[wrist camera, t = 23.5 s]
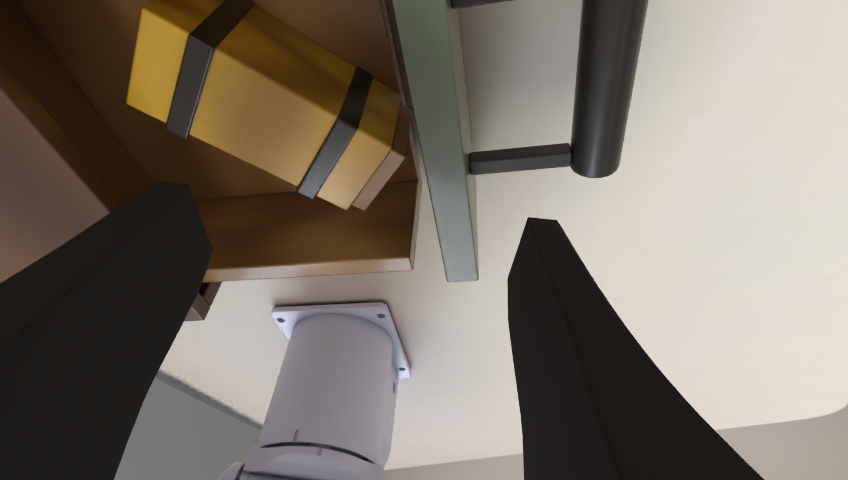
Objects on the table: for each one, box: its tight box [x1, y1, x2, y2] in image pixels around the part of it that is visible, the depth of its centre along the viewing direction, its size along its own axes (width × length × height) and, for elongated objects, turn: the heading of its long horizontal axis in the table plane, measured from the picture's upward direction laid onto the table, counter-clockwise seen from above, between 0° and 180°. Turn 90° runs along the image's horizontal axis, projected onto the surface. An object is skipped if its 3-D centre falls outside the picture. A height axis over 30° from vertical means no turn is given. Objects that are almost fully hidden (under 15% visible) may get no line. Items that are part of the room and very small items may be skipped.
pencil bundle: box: [126, 0, 413, 211], centre depth 15 cm, size 8×4×4 cm, turn 57°
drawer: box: [0, 0, 648, 283], centre depth 15 cm, size 20×13×6 cm, turn 99°
